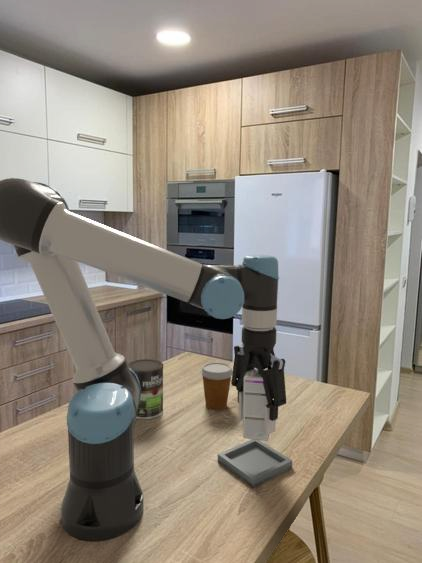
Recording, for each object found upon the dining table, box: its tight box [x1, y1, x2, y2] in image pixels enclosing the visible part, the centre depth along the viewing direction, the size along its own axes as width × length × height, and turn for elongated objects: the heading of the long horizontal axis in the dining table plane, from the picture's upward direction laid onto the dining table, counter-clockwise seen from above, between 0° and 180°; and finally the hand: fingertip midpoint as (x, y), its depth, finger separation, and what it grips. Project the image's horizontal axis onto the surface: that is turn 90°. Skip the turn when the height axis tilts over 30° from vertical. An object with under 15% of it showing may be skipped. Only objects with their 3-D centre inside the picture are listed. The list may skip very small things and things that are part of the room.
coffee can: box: [127, 358, 164, 421], centre depth 120 cm, size 10×10×14 cm
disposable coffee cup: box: [200, 362, 233, 411], centre depth 125 cm, size 10×10×12 cm
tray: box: [217, 439, 293, 489], centre depth 96 cm, size 12×12×2 cm
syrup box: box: [242, 368, 270, 442], centre depth 94 cm, size 6×6×14 cm
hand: (256, 424), depth 95 cm, fingers closed on syrup box, 8 cm apart
